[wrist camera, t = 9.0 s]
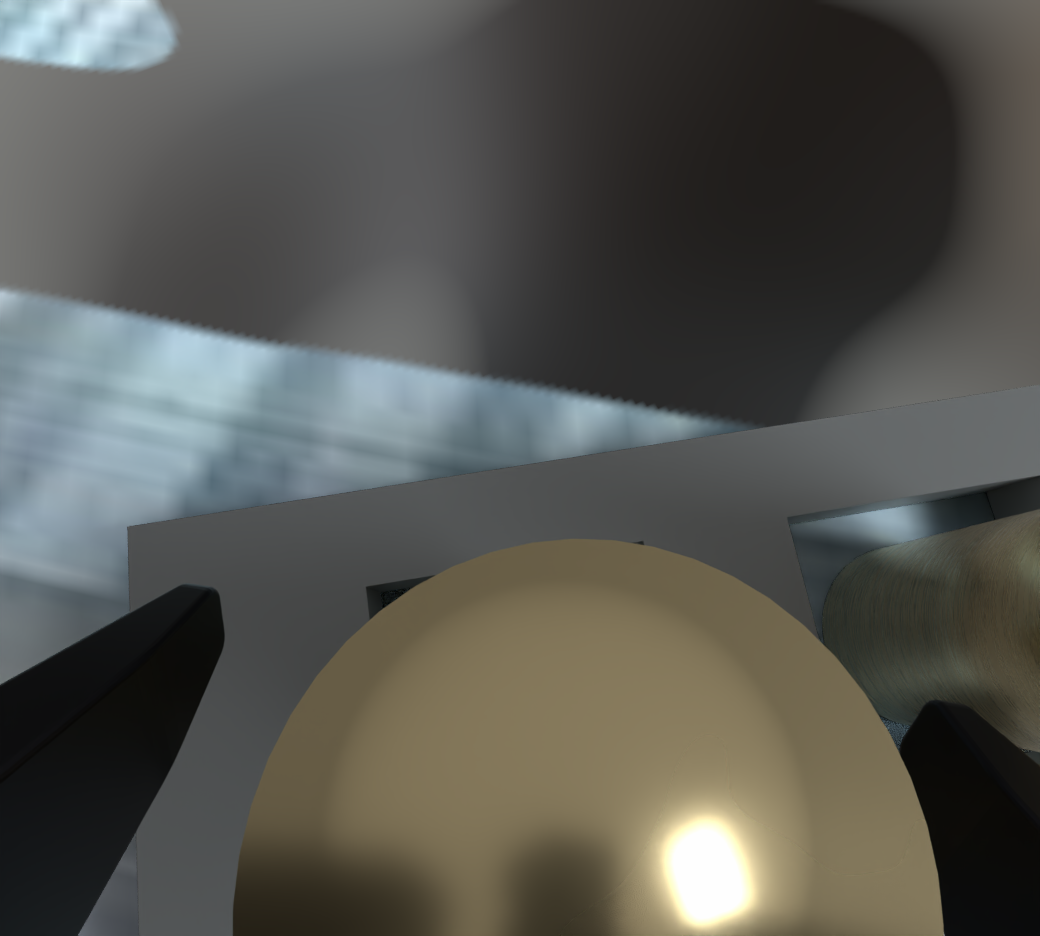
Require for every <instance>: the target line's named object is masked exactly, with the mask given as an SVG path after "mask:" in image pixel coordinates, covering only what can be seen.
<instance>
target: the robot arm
mask: <svg viewBox="0 0 1040 936" xmlns="http://www.w3.org/2000/svg"><path fill="white" fill-rule="evenodd" d="M224 642H225V630H224V623H223V615H222V608H221V600H220V595H219V593H218V591H217V590H216V589H215V588H213V587H209V586H203V585H196V584H190V583H186V584H181V585H179V586H177V587H175V588H173V589H171V590H170V591H168V592H166V593H164V594H162V595H161V596H159V597H157V598H155V599H153V600H152V601H150V602H148V603H146V604H144V605H143V606H141V607H139V608H137V609H135V610H134V611H132V612H130V613H128V614H126V615H125V616H123V617H121V618H119V619H117V620H116V621H114V622H112V623H110V624H108V625H107V626H105V627H103V628H101V629H99V630H98V631H96V632H94V633H92V634H91V635H89V636H87V637H85V638H83V639H82V640H80V641H78V642H76V643H74V644H73V645H71V646H69V647H67V648H65V649H64V650H62V651H60V652H58V653H56V654H55V655H53V656H51V657H49V658H47V659H46V660H44V661H42V662H40V663H38V664H37V665H35V666H33V667H31V668H29V669H28V670H26V671H24V672H22V673H20V674H19V675H17V676H15V677H13V678H11V679H10V680H8V681H6V682H4V683H2V684H1V685H0V936H78V934H79V932H80V931H81V929H82V927H83V925H84V923H85V922H86V920H87V918H88V916H89V915H90V913H91V911H92V909H93V907H94V906H95V904H96V902H97V900H98V899H99V897H100V895H101V893H102V891H103V890H104V888H105V886H106V884H107V882H108V881H109V879H110V877H111V875H112V874H113V872H114V870H115V868H116V866H117V865H118V863H119V861H120V859H121V858H122V856H123V854H124V852H125V850H126V849H127V847H128V845H129V843H130V842H131V840H132V838H133V836H134V834H135V833H136V831H137V829H138V827H139V826H140V824H141V822H142V820H143V818H144V817H145V815H146V813H147V811H148V810H149V808H150V806H151V804H152V802H153V801H154V799H155V797H156V795H157V794H158V792H159V790H160V788H161V786H162V785H163V783H164V781H165V779H166V777H167V775H168V773H169V771H170V770H171V768H172V766H173V764H174V762H175V759H176V757H177V755H178V753H179V751H180V749H181V746H182V744H183V742H184V739H185V737H186V735H187V733H188V730H189V728H190V726H191V723H192V721H193V719H194V716H195V714H196V712H197V709H198V707H199V705H200V702H201V700H202V698H203V695H204V693H205V691H206V688H207V686H208V684H209V681H210V679H211V677H212V674H213V672H214V670H215V667H216V665H217V663H218V660H219V658H220V656H221V653H222V650H223V647H224ZM900 756H901V758H902V760H903V762H904V765H905V767H906V769H907V771H908V773H909V775H910V777H911V780H912V783H913V786H914V789H915V791H916V794H917V797H918V800H919V803H920V806H921V809H922V812H923V815H924V818H925V821H926V823H927V827H928V832H929V836H930V841H931V845H932V850H933V854H934V859H935V863H936V868H937V872H938V879H939V888H940V897H941V907H942V916H943V925H944V934H945V936H1040V765H1039V764H1037V763H1036V762H1035V761H1034V760H1033V759H1031V758H1030V757H1029V756H1028V755H1027V754H1025V753H1024V752H1023V751H1022V750H1021V749H1020V748H1018V747H1017V746H1016V745H1015V744H1014V743H1012V742H1011V741H1010V740H1009V739H1008V738H1006V737H1005V736H1004V735H1003V734H1002V733H1000V732H999V731H998V730H997V729H996V728H995V727H993V726H992V725H991V724H990V723H989V722H987V721H986V720H985V719H984V718H983V717H981V716H980V715H979V714H978V713H977V712H976V711H974V710H973V709H972V708H970V707H969V706H967V705H965V704H962V703H957V702H951V701H944V700H938V699H934V700H930V701H928V702H927V703H925V705H924V706H923V707H922V709H921V710H920V712H919V714H918V715H917V717H916V718H915V720H914V722H913V723H912V725H911V726H910V728H909V729H908V731H907V733H906V734H905V736H904V737H903V739H902V742H901V746H900Z"/></svg>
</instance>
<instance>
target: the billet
mask: <svg viewBox="0 0 1040 936" xmlns="http://www.w3.org/2000/svg"><path fill="white" fill-rule="evenodd" d="M822 629H823V638H824V643H825V647H826V648H827V649H828V650H829V651H830V652H831V653H832V654H833V655H834V656H835V657H836V658H837V659H838V660H839V662H840V663H841V664H842V665H843V667H844V668H845V669H846V670H847V672H848V673H849V674H850V675H851V677H852V678H853V679H854V680H855V682H856V683H857V684H858V686H859V687H860V688H861V689H862V691H863V692H864V693H865V695H866V696H867V698H868V699H869V701H870V703H871V704H872V706H873V707H874V709H875V711H876V712H877V714H878V715H879V716H881V717H884V718H886V719H888V720H890V721H894V722H897V723H900V724H904V725H909V726H911V725H912V723H913V722H914V720H915V718H916V717H917V715H918V714H919V712H920V710H921V709H922V707H923V706H924V705H925V703H927V702H928V701H930V700H934V699H938V700H944V701H951V702H957V703H962V704H965V705H967V706H969V707H970V708H972V709H973V710H974V711H976V712H977V713H978V714H979V715H980V716H981V717H983V718H984V719H985V720H986V721H987V722H989V723H990V724H991V725H992V726H993V727H995V728H996V729H997V730H998V731H999V732H1000V733H1002V734H1003V735H1004V736H1005V737H1006V738H1008V739H1009V740H1010V741H1011V742H1012V743H1014V744H1015V745H1016V746H1017V747H1018V748H1021V749H1026V750H1031V751H1035V752H1040V509H1038V510H1034V511H1030V512H1026V513H1022V514H1018V515H1014V516H1010V517H1006V518H1002V519H998V520H994V521H989V522H985V523H981V524H977V525H973V526H969V527H965V528H961V529H957V530H953V531H949V532H945V533H941V534H937V535H933V536H928V537H924V538H920V539H916V540H912V541H908V542H904V543H900V544H896V545H892V546H888V547H884V548H880V549H876V550H872V551H870V552H867V553H865V554H863V555H861V556H859V557H857V558H856V559H854V560H853V561H852V562H850V563H849V564H848V565H847V566H846V567H845V568H844V569H843V570H842V571H841V572H840V573H839V574H838V576H837V577H836V579H835V580H834V582H833V583H832V585H831V587H830V589H829V591H828V594H827V597H826V600H825V604H824V610H823V619H822Z"/></svg>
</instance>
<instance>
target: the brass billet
mask: <svg viewBox="0 0 1040 936" xmlns="http://www.w3.org/2000/svg"><path fill="white" fill-rule="evenodd" d="M233 936H944V925H943V916H942V907H941V897H940V888H939V879H938V872H937V868H936V863H935V859H934V854H933V850H932V845H931V841H930V836H929V832H928V827H927V823H926V821H925V818H924V815H923V812H922V809H921V806H920V803H919V800H918V797H917V794H916V791H915V789H914V786H913V783H912V780H911V777H910V775H909V773H908V771H907V769H906V767H905V765H904V762H903V760H902V758H901V756H900V754H899V752H898V750H897V748H896V746H895V743H894V741H893V739H892V737H891V735H890V733H889V732H888V730H887V728H886V727H885V725H884V723H883V722H882V720H881V719H880V717H879V715H878V714H877V712H876V711H875V709H874V707H873V706H872V704H871V703H870V701H869V699H868V698H867V696H866V695H865V693H864V692H863V691H862V689H861V688H860V687H859V686H858V684H857V683H856V682H855V680H854V679H853V678H852V677H851V675H850V674H849V673H848V672H847V670H846V669H845V668H844V667H843V665H842V664H841V663H840V662H839V660H838V659H837V658H836V657H835V656H834V655H833V654H832V653H831V652H830V651H829V650H828V649H827V648H826V647H825V646H824V645H823V644H822V643H821V642H820V641H819V640H818V639H817V638H816V637H815V636H814V635H813V634H812V633H811V632H810V631H809V630H808V629H807V628H806V627H805V626H804V625H803V624H802V623H800V622H799V621H798V620H797V619H795V618H794V617H793V616H791V615H790V614H789V613H788V612H786V611H785V610H784V609H782V608H781V607H780V606H779V605H777V604H776V603H775V602H774V601H772V600H771V599H770V598H768V597H766V596H765V595H763V594H761V593H760V592H758V591H757V590H755V589H753V588H752V587H750V586H748V585H747V584H745V583H743V582H742V581H740V580H738V579H737V578H735V577H733V576H731V575H729V574H727V573H725V572H722V571H720V570H718V569H716V568H713V567H711V566H709V565H707V564H704V563H702V562H700V561H698V560H695V559H693V558H689V557H686V556H683V555H679V554H676V553H673V552H670V551H666V550H663V549H660V548H656V547H652V546H646V545H640V544H634V543H628V542H622V541H616V540H595V539H565V540H554V541H544V542H533V543H528V544H524V545H520V546H515V547H511V548H506V549H502V550H498V551H493V552H490V553H487V554H485V555H482V556H479V557H477V558H474V559H471V560H469V561H466V562H463V563H461V564H458V565H455V566H453V567H451V568H449V569H447V570H445V571H443V572H441V573H439V574H437V575H436V576H434V577H432V578H430V579H428V580H426V581H424V582H422V583H420V584H418V585H417V586H415V587H413V588H412V589H410V590H409V591H408V592H406V593H405V594H403V595H402V596H401V597H399V598H398V599H396V600H395V601H393V602H392V603H391V604H389V605H388V606H386V607H385V608H383V609H382V610H381V611H379V612H378V613H377V614H376V615H375V616H374V617H373V618H372V619H370V620H369V621H368V622H367V623H366V624H365V625H364V626H363V627H362V628H361V629H359V630H358V631H357V632H356V633H355V634H354V635H353V636H352V637H351V638H350V639H348V640H347V641H346V642H345V644H344V645H343V646H342V647H341V648H340V649H339V651H338V652H337V653H336V654H335V655H334V656H333V658H332V659H331V660H330V661H329V662H328V663H327V665H326V666H325V667H324V668H323V669H322V670H321V672H320V673H319V674H318V675H317V676H316V678H315V679H314V681H313V682H312V684H311V685H310V687H309V688H308V690H307V691H306V693H305V694H304V696H303V697H302V699H301V700H300V702H299V703H298V705H297V706H296V708H295V709H294V711H293V712H292V714H291V715H290V717H289V719H288V721H287V723H286V725H285V727H284V729H283V731H282V733H281V735H280V737H279V739H278V741H277V743H276V745H275V747H274V749H273V750H272V752H271V754H270V756H269V758H268V761H267V764H266V766H265V769H264V772H263V775H262V777H261V780H260V783H259V785H258V788H257V791H256V794H255V796H254V799H253V802H252V804H251V808H250V812H249V816H248V821H247V825H246V829H245V833H244V837H243V841H242V845H241V850H240V854H239V861H238V869H237V877H236V885H235V894H234V902H233Z"/></svg>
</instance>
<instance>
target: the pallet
mask: <svg viewBox="0 0 1040 936" xmlns="http://www.w3.org/2000/svg"><path fill="white" fill-rule="evenodd" d="M984 492H986V493H987V496H988V499H989V502H990V505H991V508H992V511H993V513H994V516H995V519H996V520H998V519H1002V518H1006V517H1010V516H1014V515H1018V514H1022V513H1026V512H1030V511H1034V510H1038V509H1040V385H1035V386H1029V387H1022V388H1016V389H1009V390H1002V391H996V392H990V393H983V394H977V395H970V396H964V397H958V398H951V399H945V400H938V401H932V402H925V403H919V404H913V405H906V406H900V407H893V408H887V409H881V410H874V411H868V412H861V413H855V414H848V415H842V416H835V417H829V418H823V419H817V420H810V421H803V422H798V423H791V424H785V425H778V426H771V427H765V428H758V429H752V430H746V431H739V432H733V433H726V434H720V435H713V436H707V437H701V438H694V439H688V440H681V441H675V442H668V443H662V444H656V445H649V446H643V447H636V448H630V449H624V450H617V451H611V452H604V453H598V454H591V455H585V456H579V457H572V458H566V459H559V460H553V461H546V462H540V463H534V464H527V465H521V466H514V467H508V468H502V469H495V470H489V471H482V472H476V473H469V474H463V475H457V476H450V477H444V478H437V479H431V480H424V481H418V482H412V483H405V484H399V485H392V486H386V487H380V488H373V489H367V490H360V491H354V492H347V493H341V494H335V495H328V496H322V497H315V498H309V499H302V500H296V501H290V502H283V503H277V504H270V505H264V506H257V507H251V508H245V509H238V510H232V511H225V512H219V513H213V514H206V515H200V516H193V517H187V518H180V519H174V520H168V521H161V522H155V523H148V524H142V525H135V526H129V527H127V530H128V565H129V601H130V612H132V611H134V610H135V609H137V608H139V607H141V606H143V605H144V604H146V603H148V602H150V601H152V600H153V599H155V598H157V597H159V596H161V595H162V594H164V593H166V592H168V591H170V590H171V589H173V588H175V587H177V586H179V585H181V584H186V583H190V584H196V585H203V586H209V587H213V588H215V589H216V590H217V591H218V593H219V595H220V600H221V608H222V615H223V623H224V630H225V642H224V647H223V650H222V653H221V656H220V658H219V660H218V663H217V665H216V667H215V670H214V672H213V674H212V677H211V679H210V681H209V684H208V686H207V688H206V691H205V693H204V695H203V698H202V700H201V702H200V705H199V707H198V709H197V712H196V714H195V716H194V719H193V721H192V723H191V726H190V728H189V730H188V733H187V735H186V737H185V739H184V742H183V744H182V746H181V749H180V751H179V753H178V755H177V757H176V759H175V762H174V764H173V766H172V768H171V770H170V771H169V773H168V775H167V777H166V779H165V781H164V783H163V785H162V786H161V788H160V790H159V792H158V794H157V795H156V797H155V799H154V801H153V802H152V804H151V806H150V808H149V810H148V811H147V813H146V815H145V817H144V818H143V820H142V822H141V824H140V826H139V827H138V829H137V831H136V849H137V884H138V920H139V936H233V902H234V894H235V885H236V877H237V869H238V861H239V854H240V850H241V845H242V841H243V837H244V833H245V829H246V825H247V821H248V816H249V812H250V808H251V804H252V802H253V799H254V796H255V794H256V791H257V788H258V785H259V783H260V780H261V777H262V775H263V772H264V769H265V766H266V764H267V761H268V758H269V756H270V754H271V752H272V750H273V749H274V747H275V745H276V743H277V741H278V739H279V737H280V735H281V733H282V731H283V729H284V727H285V725H286V723H287V721H288V719H289V717H290V715H291V714H292V712H293V711H294V709H295V708H296V706H297V705H298V703H299V702H300V700H301V699H302V697H303V696H304V694H305V693H306V691H307V690H308V688H309V687H310V685H311V684H312V682H313V681H314V679H315V678H316V676H317V675H318V674H319V673H320V672H321V670H322V669H323V668H324V667H325V666H326V665H327V663H328V662H329V661H330V660H331V659H332V658H333V656H334V655H335V654H336V653H337V652H338V651H339V649H340V648H341V647H342V646H343V645H344V644H345V642H346V641H347V640H348V639H350V638H351V637H352V636H353V635H354V634H355V633H356V632H357V631H358V630H359V629H361V628H362V627H363V626H364V625H365V624H366V623H367V622H368V621H369V620H370V619H372V618H373V617H374V616H375V615H376V614H377V613H378V612H379V611H381V610H382V609H383V607H382V599H381V592H387V591H393V590H399V589H405V588H411V587H415V586H417V585H418V584H420V583H422V582H424V581H426V580H428V579H430V578H432V577H434V576H436V575H437V574H439V573H441V572H443V571H445V570H447V569H449V568H451V567H453V566H455V565H458V564H461V563H463V562H466V561H469V560H471V559H474V558H477V557H479V556H482V555H485V554H487V553H490V552H493V551H498V550H502V549H506V548H511V547H515V546H520V545H524V544H528V543H533V542H544V541H554V540H565V539H595V540H616V541H622V542H628V543H634V544H640V545H646V546H652V547H656V548H660V549H663V550H666V551H670V552H673V553H676V554H679V555H683V556H686V557H689V558H693V559H695V560H698V561H700V562H702V563H704V564H707V565H709V566H711V567H713V568H716V569H718V570H720V571H722V572H725V573H727V574H729V575H731V576H733V577H735V578H737V579H738V580H740V581H742V582H743V583H745V584H747V585H748V586H750V587H752V588H753V589H755V590H757V591H758V592H760V593H761V594H763V595H765V596H766V597H768V598H770V599H771V600H772V601H774V602H775V603H776V604H777V605H779V606H780V607H781V608H782V609H784V610H785V611H786V612H788V613H789V614H790V615H791V616H793V617H794V618H795V619H797V620H798V621H799V622H800V623H802V624H803V625H804V626H805V627H806V628H807V629H808V630H809V631H810V632H811V633H812V634H813V635H814V636H815V637H816V638H817V639H818V640H819V637H818V633H817V629H816V625H815V622H814V618H813V614H812V610H811V606H810V603H809V599H808V595H807V591H806V588H805V584H804V580H803V576H802V573H801V569H800V565H799V561H798V557H797V554H796V550H795V546H794V542H793V539H792V535H791V531H790V527H789V525H791V524H797V523H803V522H809V521H815V520H821V519H828V518H834V517H840V516H846V515H852V514H858V513H864V512H870V511H876V510H882V509H888V508H894V507H900V506H906V505H912V504H918V503H924V502H930V501H936V500H942V499H948V498H954V497H960V496H966V495H972V494H978V493H984ZM819 641H820V640H819ZM1025 754H1027V755H1028V756H1029V757H1030V758H1031V759H1033V760H1034V761H1035V762H1036V763H1037V764H1039V765H1040V752H1035V751H1031V752H1026V753H1025Z"/></svg>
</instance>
